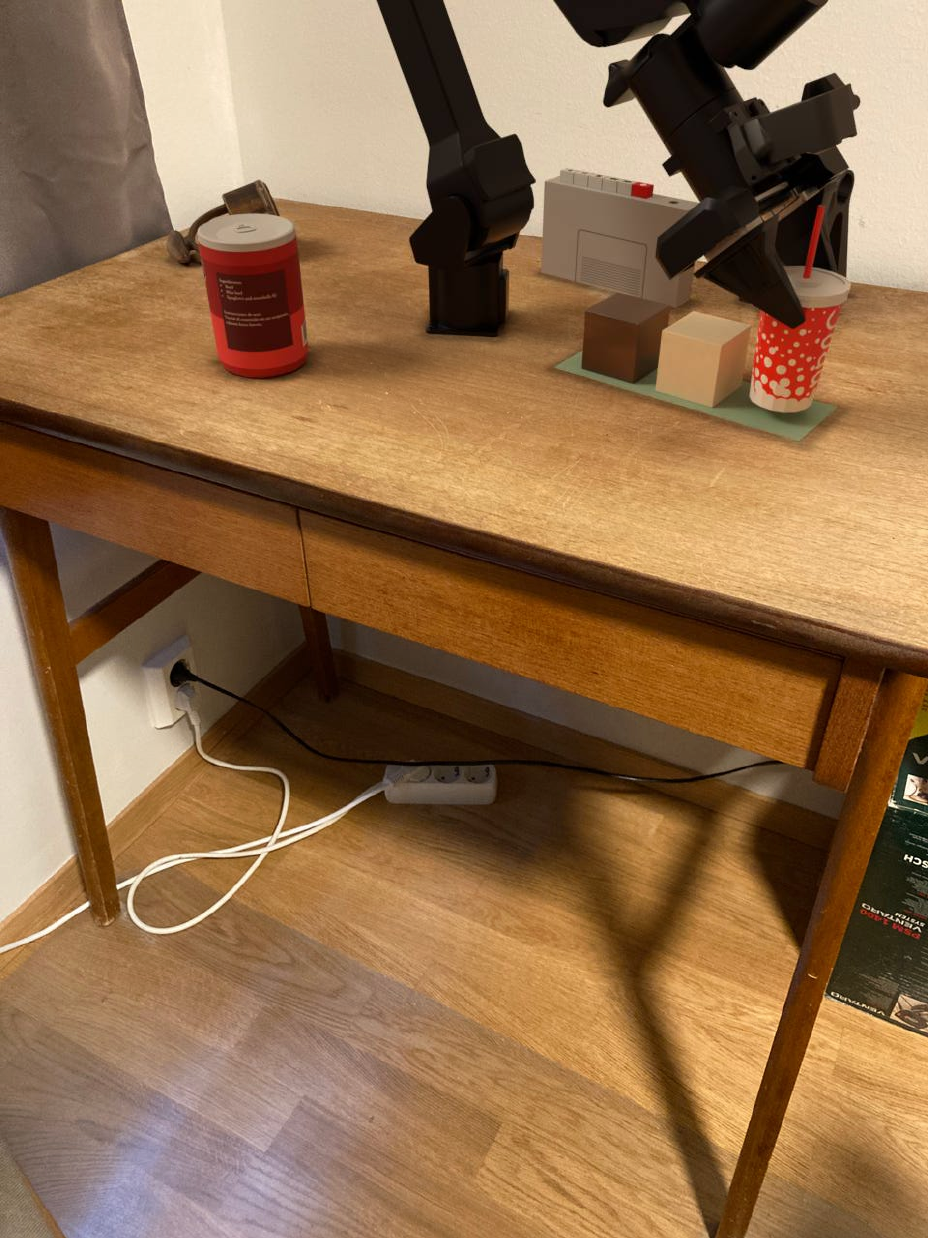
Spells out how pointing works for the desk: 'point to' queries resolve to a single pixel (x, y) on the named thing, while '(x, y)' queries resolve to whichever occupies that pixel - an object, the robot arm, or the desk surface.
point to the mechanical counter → (235, 202)
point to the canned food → (254, 293)
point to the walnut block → (623, 337)
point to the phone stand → (838, 220)
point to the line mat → (722, 404)
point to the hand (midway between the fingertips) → (818, 311)
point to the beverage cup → (798, 337)
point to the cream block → (702, 358)
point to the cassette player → (611, 235)
